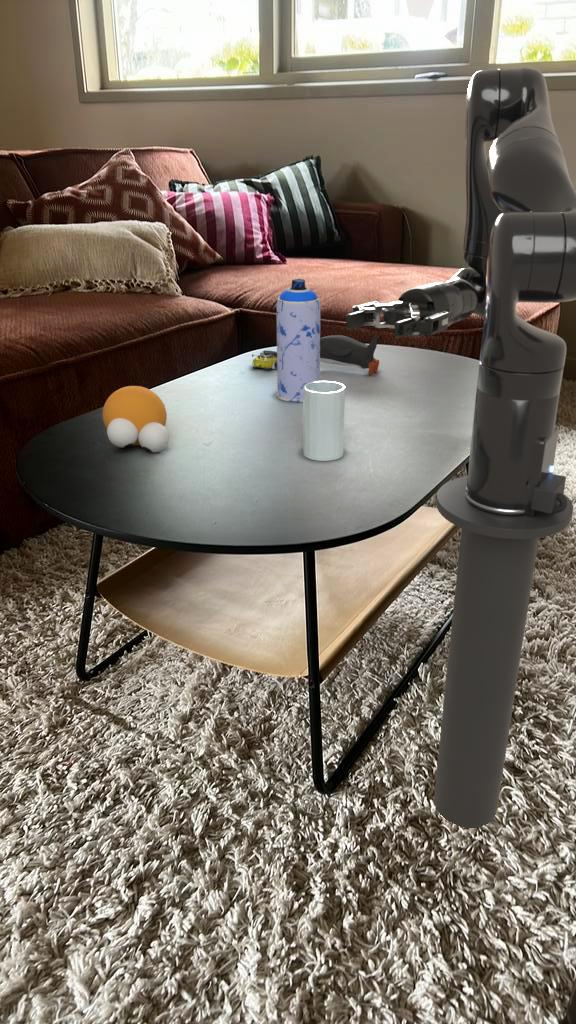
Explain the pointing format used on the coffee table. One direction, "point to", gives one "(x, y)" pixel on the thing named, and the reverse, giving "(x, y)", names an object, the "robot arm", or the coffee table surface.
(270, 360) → the toy car
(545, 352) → the robot arm
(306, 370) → the aerosol can
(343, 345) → the figurine
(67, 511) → the coffee table surface
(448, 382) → the coffee table surface
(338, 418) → the plastic cup
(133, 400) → the toy
